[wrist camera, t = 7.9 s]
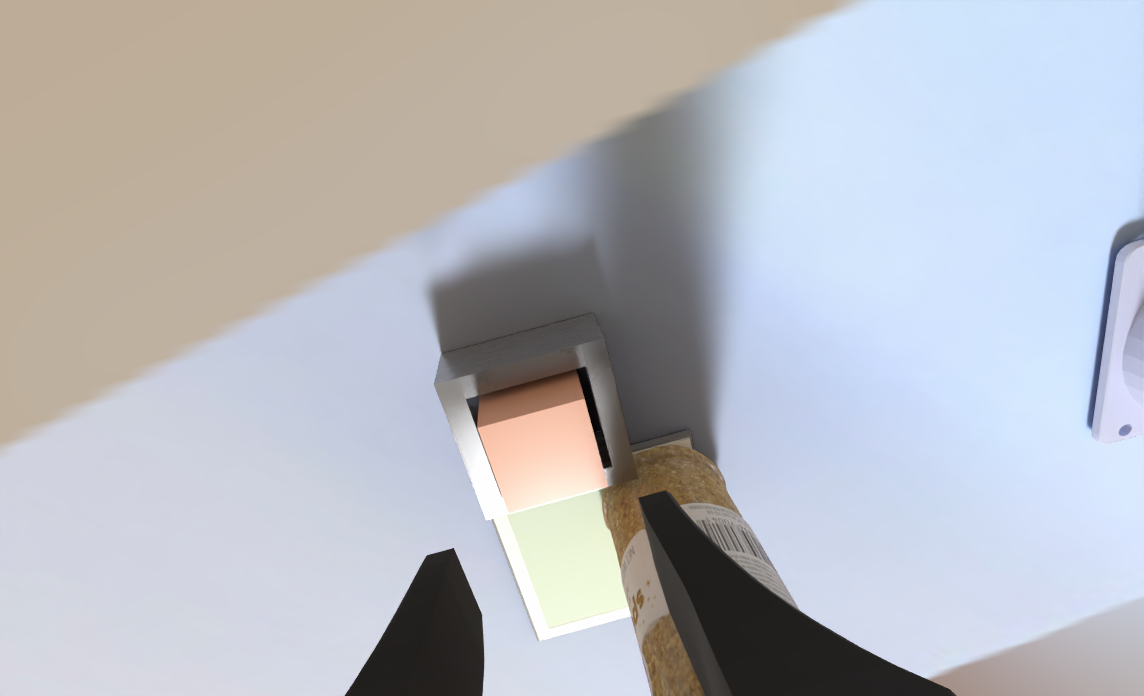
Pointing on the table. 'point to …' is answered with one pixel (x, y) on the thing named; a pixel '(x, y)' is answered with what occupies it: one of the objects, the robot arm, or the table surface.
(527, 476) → the button
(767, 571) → the sprinkles bottle
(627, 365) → the table surface
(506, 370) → the button housing
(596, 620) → the picture board
